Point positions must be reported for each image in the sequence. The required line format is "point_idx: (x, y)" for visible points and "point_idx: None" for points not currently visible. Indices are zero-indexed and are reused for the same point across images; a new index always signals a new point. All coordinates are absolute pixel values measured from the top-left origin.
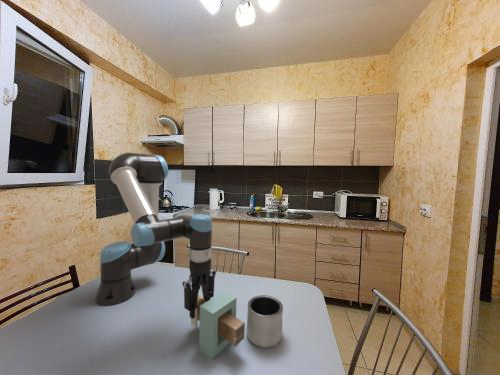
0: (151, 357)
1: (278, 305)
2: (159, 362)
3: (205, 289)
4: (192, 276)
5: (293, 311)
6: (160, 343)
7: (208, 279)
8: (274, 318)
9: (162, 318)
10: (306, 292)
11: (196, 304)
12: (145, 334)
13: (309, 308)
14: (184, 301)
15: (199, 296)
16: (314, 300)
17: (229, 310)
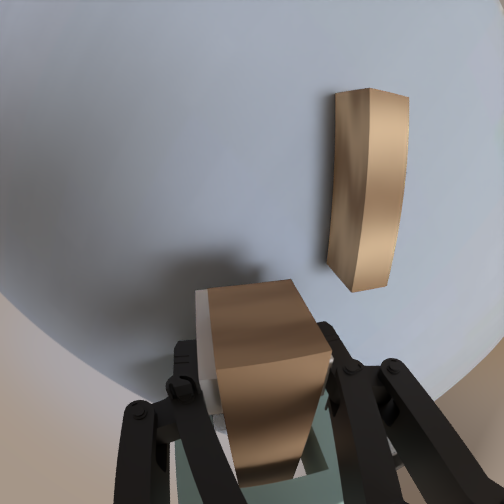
0: (22, 270)
1: (400, 460)
2: (42, 307)
3: (343, 490)
4: None
5: (443, 369)
6: (57, 227)
7: (449, 481)
8: None
9: (142, 46)
10: (498, 333)
11: (232, 416)
12: (29, 120)
13: (455, 374)
14: (118, 462)
15: (406, 118)
16: (477, 360)
17: (310, 473)
